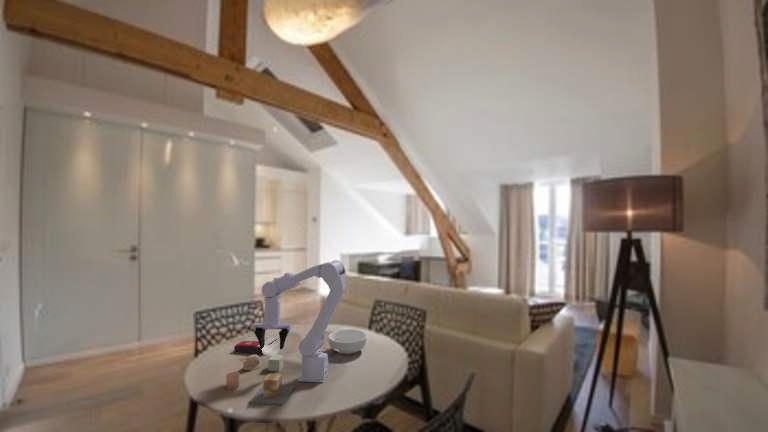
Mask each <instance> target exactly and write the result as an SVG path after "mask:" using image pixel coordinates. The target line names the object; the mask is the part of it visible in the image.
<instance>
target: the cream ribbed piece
mask: <svg viewBox="0 0 768 432" xmlns="http://www.w3.org/2000/svg"><path fill="white" fill-rule="evenodd" d="M238 359H239V361H241V362H242V363H243V366H242V368H241V369H242V370H244V371H254V370H257V369H258V368H260V367H261V361H260V356H259V355H256V354H249V355H248V356H246V357H243V356H240V357H239V358H238Z"/></svg>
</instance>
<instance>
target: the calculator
mask: <svg viewBox="0 0 768 432" xmlns="http://www.w3.org/2000/svg"><path fill="white" fill-rule="evenodd" d="M276 340H277V341H278V338H273V337H270V338H268V337H265V345H270V344H272V343H273V342H274V341H276ZM233 350H234V351H233V352H234V353H235V354H236V353H237V354H249V355H258V356H264V355H263V353H262V350H261V349H260V344H259V341H258V339H257V337H251V336H250V337H249V336H248V337H247V338H245V339H244V340H242V341H240V342H238V343H237V344H235V346H234V347H233Z"/></svg>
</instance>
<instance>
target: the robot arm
mask: <svg viewBox="0 0 768 432" xmlns="http://www.w3.org/2000/svg"><path fill="white" fill-rule="evenodd" d="M346 272H347V270H346V268H345V266H344V263H343V262H341V261H340V260H337V259H336V260H331V261H329V262H324V263H320V264H319V263H318V264H316V265H313V266H311V267H310V268H309V267H308V268H307V269H305V270H303V271H302V270H301V271H300V272H298V273H293V272H285V273H284V274H283V276H280V277H274V278H273V280H270V281H267V282H265V283H264V284H263V285H262V286H261V294H262V295H263V296H264V315H263V316H264V317H263V318H264V322H254V323H252V329H253V330H254V331H253V332H254V333H253V334H254V335H255V338H257V339H258V341H259V344H260V349H262V348H263V347H264V345H265V338H266V337H265V336H266V330H279V331H278V335H279V350H283V349H284V348H285V342H286V339H287V337H288V334H289V332H290V331H291V330H292V329H293V328H292V327H293V326H292V323H287V322H281V296H282V295H281V294H282V293H285V292H287V291H291V290H292V289H295V288H297V287H298V285H299V282H302V281H305V280H307V279H310V278H313V277H316V278H318V279H320V278H321V279H322V280H323V282H324V283H326V285H327V286H328V289H329V292H328V294H327V296H326V299H325V301H324V302H323V305H322V306H321V309H320V310H319V312H318V314H317V317H316V318H315V321H314V323H313V325H312V327H311V328H310V329H309V331H308V332H307V334H306V336H304V338H303V339H301V340H300V342H299V343H298V350H299V353H300V354H301V374H300V376H299V377H298V379H297V382H303V383H304V382H309V383H324V382H325V381H326V378H327V376H328V374H329V355H328V353H325V352H322V346H323V345H324V343H325V335H326V334H327V333H326V332H327V329H328V326H329V325H330V322H331V320H332V318H333V316H334V314H335V312H336V310H337V308H338V306H339V304H340V302H341V301H342V298H343V296H344V294H345V293H346V289H347V288H346V287H347V286H346V284H347V283H346Z"/></svg>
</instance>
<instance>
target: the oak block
mask: <svg viewBox="0 0 768 432" xmlns="http://www.w3.org/2000/svg"><path fill="white" fill-rule="evenodd" d="M262 383H263V384H262V386H263V397H277V396H278V395H279V394H280V392H281V391H282V386H283V374H282V373H268V374H267V375H266V376H265V378H264V379H263V382H262Z"/></svg>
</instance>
